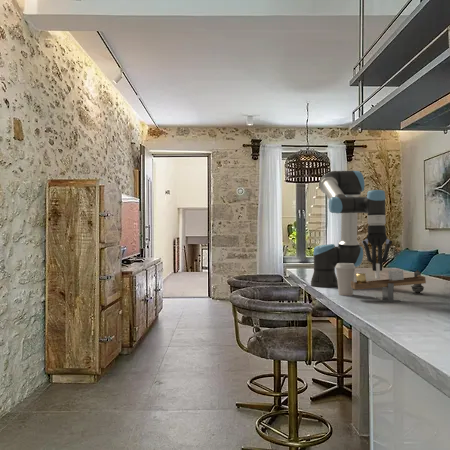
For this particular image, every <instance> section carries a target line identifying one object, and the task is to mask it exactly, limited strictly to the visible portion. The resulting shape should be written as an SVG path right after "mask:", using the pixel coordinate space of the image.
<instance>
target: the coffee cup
mask: <svg viewBox="0 0 450 450" xmlns="http://www.w3.org/2000/svg"><path fill="white" fill-rule="evenodd" d="M355 269H357V267H355V266H354V264H353V263H337V265H336V266H335V273H336V277H337V282H338V286H337V290H338V296H346V297H347V296H353V295H354V289H353V288H351V281H353V282H355Z"/></svg>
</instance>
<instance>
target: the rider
mask: <svg viewBox="0 0 450 450" xmlns="http://www.w3.org/2000/svg"><path fill="white" fill-rule="evenodd" d="M387 274H388V279H389V281H397V280H404V278H405V276H404V271H403V270H402V269H393V270H392V269H390V270H387Z"/></svg>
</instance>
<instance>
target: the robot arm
mask: <svg viewBox="0 0 450 450" xmlns="http://www.w3.org/2000/svg"><path fill="white" fill-rule="evenodd" d="M318 184H319V185H318V187H319V189H320V191H321V192H322V193H324V194H325V196H326V198H328V210H329V212H330V213H332V214H341V219H340V220H341V221H340V222H341V224H340V226H341V227H340V228H341V230H340V241H339V242H338V243H337V244H338V245H337V246H336V245H335V244H334V243H329V244H321V245H316V246H315V247H314V248H313V274H312V277H311V280H310V286H312V287H317V288H336V287H337V288H338V282H337V273H336V268H335V266H336V265H337V263H353V264H354V266H355V267H356V268H357V267H359V266H361V265H362V262H363V259H364V251H365V255H366V258H367V262H368V263H371V265H372V267H371V268H372V271H373V272H374V279H376V280H381V272H382V271H383V264H384V263H386V262H387V261H388V256H389V251H390V248H391V246H392V244H393V240H390V239H389V238H388V237H387V227H386V223H387V222H386V220H387V219H386V218H387V217H386V199H387V198H386V192H385V190H383V189H373V190H368V191H367V194H366V196H362V195H361V193H362V192H365V187H366V186H365V185H366V184H365V177H364V174H363V173H362V172H361V171H359V170H333V171H329V172H326V173H325V174H323V175H322V177H321V178H320V180H319V182H318ZM358 214H367V236H366V238H365V239H364V240H362V241H361V243H362V245H363V247H364V248H363V247H362V246H361V245H360V242H359V241H358ZM369 244H370V246H371V251H370V248H369ZM384 244H385V246H384V249H383V245H384ZM377 262H378V263H377Z"/></svg>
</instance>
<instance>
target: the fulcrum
mask: <svg viewBox="0 0 450 450" xmlns="http://www.w3.org/2000/svg"><path fill="white" fill-rule="evenodd" d="M394 289H395V286H394V283H388V287H381V290H382V291H381V292H382V294H381V296H375V299H376V300H377V301H379V302H380V303H401V299H399V298H397V297H395V296H394Z"/></svg>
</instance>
